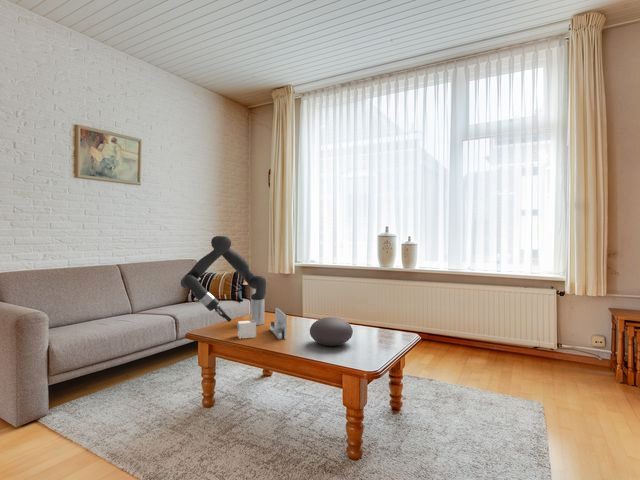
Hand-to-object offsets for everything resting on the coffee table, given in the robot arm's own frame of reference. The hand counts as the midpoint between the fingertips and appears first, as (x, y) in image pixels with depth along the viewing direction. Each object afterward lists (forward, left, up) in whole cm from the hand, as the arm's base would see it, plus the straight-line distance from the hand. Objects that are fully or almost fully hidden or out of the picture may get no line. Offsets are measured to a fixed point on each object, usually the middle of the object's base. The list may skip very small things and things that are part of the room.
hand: (230, 320), depth 215 cm
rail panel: (0, +29, -10) cm, 31 cm away
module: (0, +10, -10) cm, 14 cm away
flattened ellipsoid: (+30, +53, -11) cm, 62 cm away
